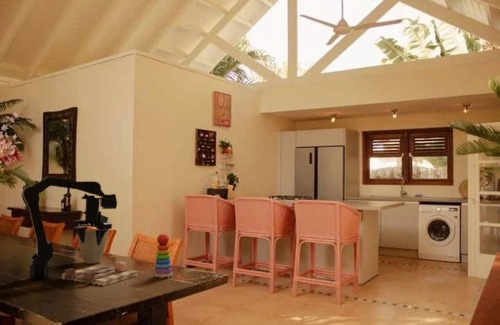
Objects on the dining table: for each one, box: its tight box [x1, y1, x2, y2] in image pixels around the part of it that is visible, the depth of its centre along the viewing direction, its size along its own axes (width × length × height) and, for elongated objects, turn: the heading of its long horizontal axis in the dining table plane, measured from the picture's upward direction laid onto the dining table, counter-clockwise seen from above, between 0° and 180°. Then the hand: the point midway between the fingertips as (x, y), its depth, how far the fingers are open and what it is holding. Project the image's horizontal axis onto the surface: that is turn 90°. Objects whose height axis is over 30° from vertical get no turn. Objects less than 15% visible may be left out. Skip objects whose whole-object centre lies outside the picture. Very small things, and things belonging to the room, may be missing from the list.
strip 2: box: [84, 268, 128, 284], centre depth 179 cm, size 22×3×4 cm, turn 154°
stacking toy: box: [153, 233, 173, 279], centre depth 187 cm, size 8×8×19 cm
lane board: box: [61, 265, 139, 287], centre depth 182 cm, size 22×24×2 cm
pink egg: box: [114, 261, 127, 272], centre depth 186 cm, size 4×4×4 cm
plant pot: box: [77, 229, 110, 265], centre depth 213 cm, size 15×15×16 cm
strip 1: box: [64, 265, 110, 281], centre depth 184 cm, size 22×3×4 cm, turn 154°
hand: (90, 244), depth 189 cm, fingers open, 9 cm apart
